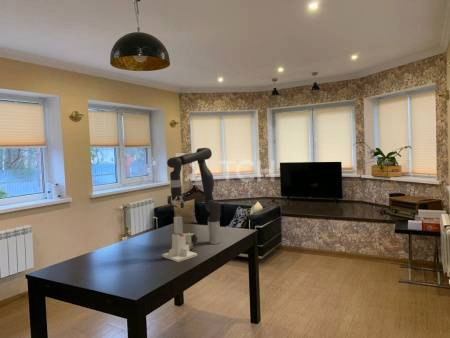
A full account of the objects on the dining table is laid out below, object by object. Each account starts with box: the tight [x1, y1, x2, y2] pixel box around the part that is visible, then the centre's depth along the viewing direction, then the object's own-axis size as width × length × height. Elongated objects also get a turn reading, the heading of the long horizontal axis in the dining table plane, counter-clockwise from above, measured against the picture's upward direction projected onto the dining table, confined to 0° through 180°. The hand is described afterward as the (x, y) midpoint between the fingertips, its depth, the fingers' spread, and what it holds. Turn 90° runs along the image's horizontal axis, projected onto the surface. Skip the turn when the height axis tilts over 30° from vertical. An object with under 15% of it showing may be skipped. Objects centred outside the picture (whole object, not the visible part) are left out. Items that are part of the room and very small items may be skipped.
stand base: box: [161, 233, 198, 263], centre depth 232 cm, size 17×18×16 cm
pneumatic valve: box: [184, 232, 198, 250], centre depth 250 cm, size 6×12×12 cm, turn 56°
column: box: [173, 216, 184, 235], centre depth 231 cm, size 4×4×20 cm
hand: (177, 209), depth 234 cm, fingers open, 8 cm apart
